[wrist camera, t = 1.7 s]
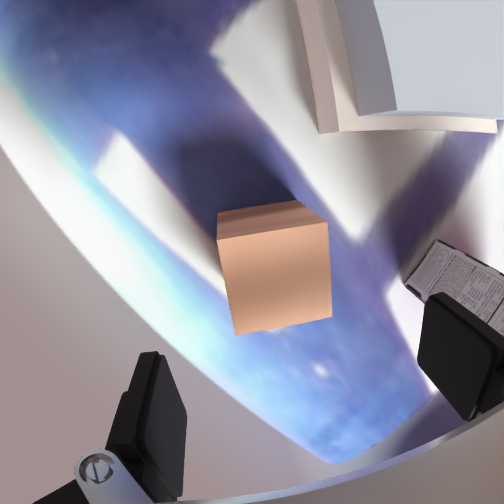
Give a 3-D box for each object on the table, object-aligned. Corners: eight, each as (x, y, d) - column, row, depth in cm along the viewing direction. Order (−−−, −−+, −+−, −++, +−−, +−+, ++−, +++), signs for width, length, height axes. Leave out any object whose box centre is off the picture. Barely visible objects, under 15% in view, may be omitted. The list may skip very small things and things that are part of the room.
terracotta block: (217, 212, 19) (216, 240, 14) (296, 199, 20) (327, 221, 14) (230, 285, 21) (235, 335, 15) (303, 272, 21) (332, 316, 16)
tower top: (319, -49, 11) (341, -83, 7) (457, -18, 12) (490, -33, 8) (358, 116, 15) (397, 110, 11) (490, 119, 15) (532, 121, 11)
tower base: (285, -34, 14) (298, -63, 11) (433, -11, 15) (460, -25, 11) (316, 134, 19) (339, 131, 15) (463, 131, 19) (497, 133, 16)
